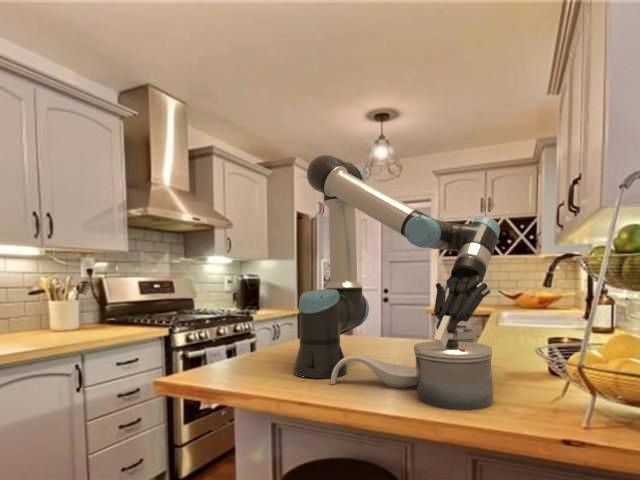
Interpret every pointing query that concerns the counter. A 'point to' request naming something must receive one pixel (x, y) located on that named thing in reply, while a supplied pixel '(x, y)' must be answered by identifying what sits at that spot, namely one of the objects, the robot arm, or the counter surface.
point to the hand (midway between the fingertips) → (439, 343)
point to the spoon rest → (382, 371)
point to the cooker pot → (454, 382)
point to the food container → (464, 335)
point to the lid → (453, 350)
